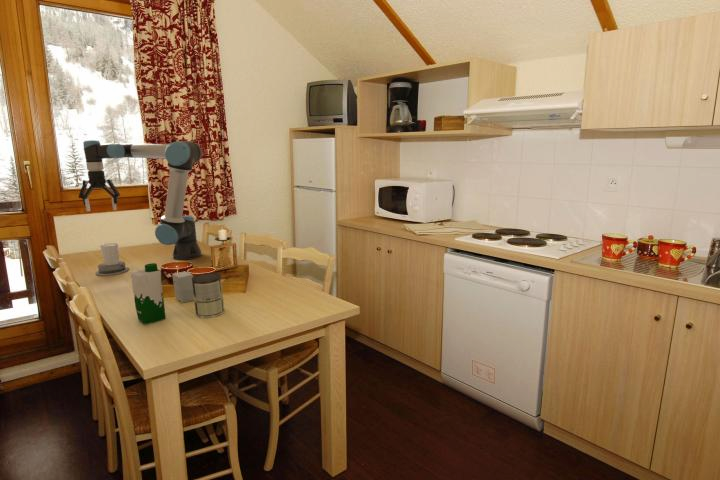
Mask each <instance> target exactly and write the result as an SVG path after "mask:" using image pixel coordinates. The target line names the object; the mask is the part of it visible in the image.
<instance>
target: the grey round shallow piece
mask: <svg viewBox="0 0 720 480" xmlns="http://www.w3.org/2000/svg"><path fill="white" fill-rule="evenodd" d="M119 262H120V263H119V264H116V265H105V264H104V262H102V263H100V264H98V265H97V268H98V270H97V271H95V276H99V277H108V276H117V275H121V274H124V273H127V272H128V270H130V267H128V266H126V262H125V260H124V261H123V260H119Z"/></svg>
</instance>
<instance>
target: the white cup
mask: <svg viewBox="0 0 720 480" xmlns="http://www.w3.org/2000/svg"><path fill="white" fill-rule="evenodd" d="M99 248H100V252H101V256H102V260H103V263H104V264H105V265H116V264H119V263H120V262H119V261H120V251H119V243H118V242H108V243H103V244H100V245H99Z"/></svg>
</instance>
